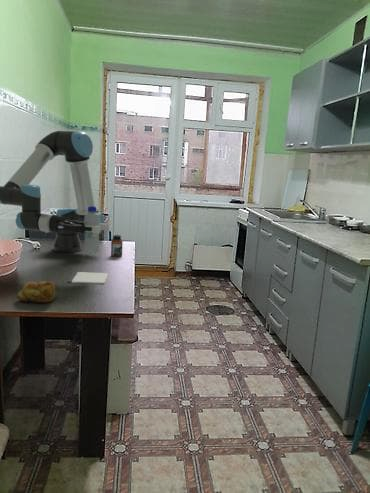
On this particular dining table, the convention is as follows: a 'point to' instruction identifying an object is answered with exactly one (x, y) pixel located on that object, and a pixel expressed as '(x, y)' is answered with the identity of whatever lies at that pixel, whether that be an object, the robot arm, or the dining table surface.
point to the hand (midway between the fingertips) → (103, 228)
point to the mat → (88, 278)
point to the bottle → (91, 238)
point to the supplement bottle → (116, 246)
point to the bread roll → (37, 292)
